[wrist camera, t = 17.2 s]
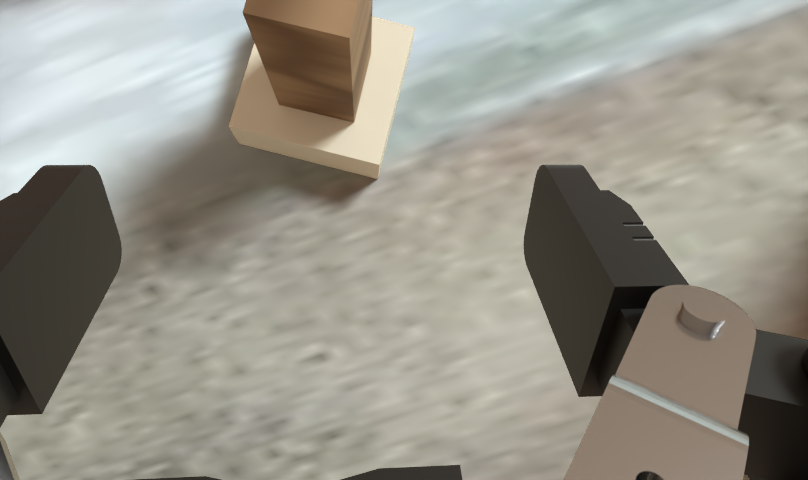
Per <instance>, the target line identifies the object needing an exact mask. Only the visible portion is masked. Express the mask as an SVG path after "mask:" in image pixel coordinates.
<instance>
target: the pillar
mask: <svg viewBox="0 0 808 480" xmlns="http://www.w3.org/2000/svg"><path fill="white" fill-rule="evenodd" d="M243 15H244V17H245V20H246V22H247V25H248V27H249V30H250V32H251V35H252V37H253V40H254V43H255V45H256V48H257V50H258V53H259V55H260V58H261V60H262V63H263V65H264V68H265V71H266V73H267V76H268V78H269V81H270V83H271V86H272V88H273V91H274V93H275V96H276V99H277V101H278V104H279V105H281V106H285V107H290V108H294V109H298V110H302V111H307V112H311V113H315V114H320V115H324V116H328V117H333V118H337V119H341V120H346V121H350V122H354V121H355V117H356V113H357V109H358V105H359V101H360V97H361V93H362V89H363V84H364V80H365V76H366V72H367V68H368V64H369V60H370V56H371V39H372V0H246V3H245V7H244V10H243Z"/></svg>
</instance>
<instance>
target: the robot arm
mask: <svg viewBox="0 0 808 480" xmlns="http://www.w3.org/2000/svg"><path fill="white" fill-rule="evenodd" d="M653 237H654V236H653V235H652V234H651V232H650V231H649V230H648V228H647V227H646V226H643V221H642V220H641V219H640V217H639V216H638V215H637V213H636V212H635V211H634V209H633V208H632V206H631V205H630V204H628V203H627V202H625V201H624V200H622V199H621V198H619V197H618V196H616V195H615V194H613V193H612V192H610V191H609V190H601V191H600V189H599V188H598V187H597V185H596V184H595V182H594V181H593V179H592V178H591V176H590V175H589V173H588V172H587V170H586V169H585V168H584V166H582V165H541V166H540V167H539V169H538V171H537V174H536V178H535V183H534V188H533V193H532V198H531V203H530V208H529V214H528V219H527V224H526V229H525V235H524V255H525V261H526V265H527V267H528V270H529V272H530V275H531V278H532V280H533V283H534V285H535V288H536V290H537V293H538V295H539V298H540V300H541V303H542V305H543V308H544V310H545V313H546V315H547V318H548V320H549V323H550V325H551V328H552V330H553V333H554V336H555V338H556V341H557V343H558V346H559V348H560V351H561V353H562V356H563V358H564V361H565V363H566V366H567V368H568V371H569V373H570V376H571V378H572V381H573V383H574V386H575V388H576V391H577V394H578V396H579V397H586V396H602V398H601V400H600V402H599V404H598V407H597V409H596V411H595V413H594V415H593V417H592V420H591V422H590V424H589V426H588V428H587V430H586V433H585V435H584V437H583V439H582V441H581V443H580V446H579V448H578V450H577V452H576V454H575V456H574V459H573V461H572V463H571V465H570V467H569V469H568V472H567V474H566V476H565V478H564V480H743V477H744V474H745V475H748V477H749V478H750V480H808V340H805V339H800V338H795V337H790V336H785V335H781V334H776V333H771V332H766V331H761V330H757V329H755V326H754V324H753V322H752V320H751V319H750V317H749V316H748V315H747V313H746V312H745V311H744V310H743V309H742V308H740V307H739V306H738V305H737V304H735V303H734V302H732V301H731V300H729V299H728V298H726V297H724V296H722V295H720V294H718V293H715V292H713V291H710V290H707V289H704V288H701V287H696V286H690V285H689V284H688V283H687V281H686V280H685V279H684V277H683V276H682V274H681V273H680V272H679V270H678V269H677V268H676V266H675V265H674V264H673V262H672V261H671V260H670V258H669V257H668V255H667V254H666V253H665V251H664V250H663V249H662V247H661V246H660V245H659V243H658V242H657V240H653ZM120 262H121V241H120V236H119V233H118V230H117V227H116V223H115V220H114V217H113V214H112V211H111V207H110V204H109V201H108V198H107V195H106V191H105V188H104V185H103V182H102V179H101V176H100V174H99V172H98V171H97V169H96V168H95V167H93V166H91V165H46V166H43V167H42V168H40V169H39V170H38V171H37V173H36V174H35V175H34V176H33V177H32V178H31V179H30V180H29V181H28V182H27V183H26V185H25V186H24V187H23V188H22V189H21V190H20V191H19V192H18V193H13V194H12V195H10V196H8V197H6V198H5V199H3V200H1V201H0V427H1V425H2V423H3V422H4V420H5V418H6V417H7V415H26V414H42V413H43V411H44V409H45V407H46V405H47V403H48V402H49V400H50V398H51V396H52V394H53V392H54V390H55V388H56V387H57V385H58V383H59V381H60V379H61V377H62V375H63V373H64V372H65V370H66V368H67V366H68V364H69V362H70V360H71V358H72V356H73V355H74V353H75V351H76V349H77V347H78V345H79V343H80V341H81V340H82V338H83V336H84V334H85V332H86V330H87V328H88V326H89V324H90V323H91V321H92V319H93V317H94V315H95V313H96V311H97V309H98V308H99V306H100V304H101V302H102V300H103V298H104V296H105V294H106V293H107V291H108V289H109V287H110V285H111V283H112V281H113V279H114V277H115V276H116V274H117V272H118V269H119V266H120ZM0 480H20V479H19V477H18V474H17V471H16V468H15V466H14V463H13V460H12V458H11V455H10V452H9V449H8V447H7V444H6V441H5V440H4V438H3V436H2V435H1V433H0ZM137 480H220V479H215V478H210V477H206V476H204V477H181V478H159V479H137ZM342 480H462V475H461V469H460V465H449V466H427V467H405V468H382V469H376V470H373V471H369V472H366V473H362V474H359V475H355V476H352V477H348V478H345V479H342Z"/></svg>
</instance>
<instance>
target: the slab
mask: <svg viewBox="0 0 808 480" xmlns="http://www.w3.org/2000/svg"><path fill="white" fill-rule="evenodd" d="M414 30H415V28H414V27H410V26H407V25H403V24H399V23H395V22H392V21H388V20H384V19H380V18H377V17H373V16H372V39H371V56H370V60H369V64H368V68H367V72H366V76H365V80H364V84H363V89H362V93H361V97H360V101H359V105H358V109H357V113H356V117H355V121H354V122H350V121H346V120H341V119H337V118H333V117H328V116H324V115H320V114H315V113H311V112H307V111H302V110H298V109H294V108H290V107H285V106H281V105H279V104H278V101H277V99H276V96H275V93H274V91H273V88H272V86H271V83H270V81H269V78H268V76H267V73H266V71H265V68H264V65H263V63H262V60H261V58H260V55H259V53H258V50H257V48H256V45H255V43H254V45H253V49H252V52H251V55H250V58H249V61H248V65H247V68H246V71H245V74H244V77H243V81H242V84H241V87H240V90H239V93H238V97H237V100H236V103H235V106H234V109H233V113H232V116H231V119H230V122H229V125H228V127H229V128H230V130H231V131H232V133H233V135H234V136H235V138H236V140H237V141H238V143H239V144H242V145H246V146H250V147H254V148H258V149H262V150H266V151H270V152H274V153H277V154H281V155H285V156H289V157H293V158H297V159H301V160H305V161H309V162H313V163H317V164H321V165H324V166H328V167H332V168H336V169H340V170H344V171H348V172H352V173H356V174H360V175H364V176H368V177H371V178H375V179H378V176H379V172H380V168H381V164H382V160H383V157H384V153H385V149H386V145H387V141H388V137H389V133H390V129H391V125H392V122H393V118H394V114H395V110H396V106H397V102H398V98H399V94H400V90H401V87H402V83H403V79H404V75H405V71H406V67H407V63H408V59H409V55H410V51H411V46H412V41H413V36H414Z"/></svg>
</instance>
